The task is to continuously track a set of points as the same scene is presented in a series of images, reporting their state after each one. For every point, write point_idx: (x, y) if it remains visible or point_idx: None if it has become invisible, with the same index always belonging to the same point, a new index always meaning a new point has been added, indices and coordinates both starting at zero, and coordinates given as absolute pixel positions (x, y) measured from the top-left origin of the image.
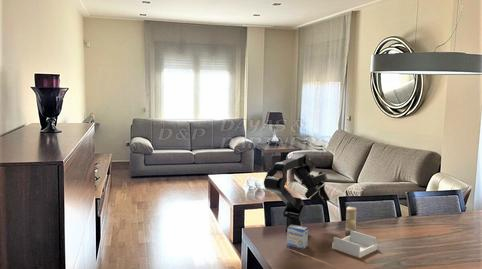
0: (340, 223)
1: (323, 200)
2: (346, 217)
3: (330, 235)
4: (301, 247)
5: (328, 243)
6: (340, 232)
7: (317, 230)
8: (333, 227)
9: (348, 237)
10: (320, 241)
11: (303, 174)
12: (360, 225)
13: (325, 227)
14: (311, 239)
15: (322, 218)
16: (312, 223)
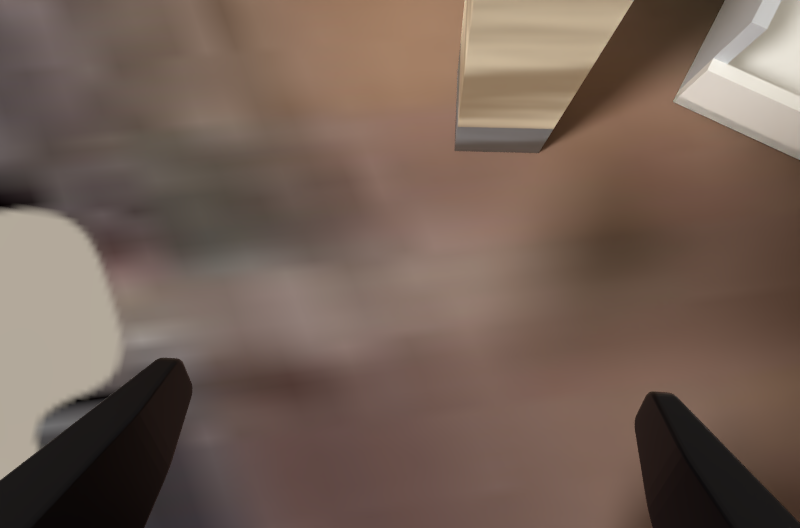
0: (153, 236)
1: (751, 492)
2: (600, 45)
3: (558, 289)
4: None
5: (796, 280)
6: (430, 207)
7: (456, 436)
8: (302, 289)
9: (753, 81)
10: (776, 362)
11: None
12: (156, 52)
13: (330, 367)
14: (759, 458)
15: (40, 436)
16: (245, 521)
